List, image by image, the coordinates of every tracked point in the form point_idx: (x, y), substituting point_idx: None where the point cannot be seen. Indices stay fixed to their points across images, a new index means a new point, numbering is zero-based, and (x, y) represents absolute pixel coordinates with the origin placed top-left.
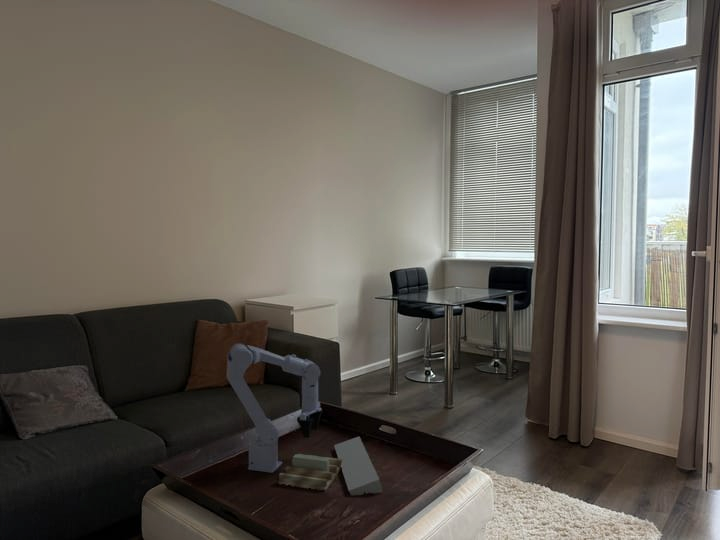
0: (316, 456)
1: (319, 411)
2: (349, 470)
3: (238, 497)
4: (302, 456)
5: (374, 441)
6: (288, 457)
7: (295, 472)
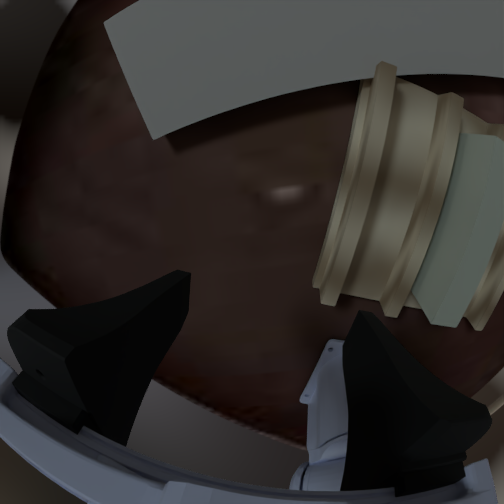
0: (358, 208)
1: (80, 373)
2: (455, 44)
3: (488, 372)
4: (464, 287)
5: (85, 14)
6: (273, 326)
7: None
